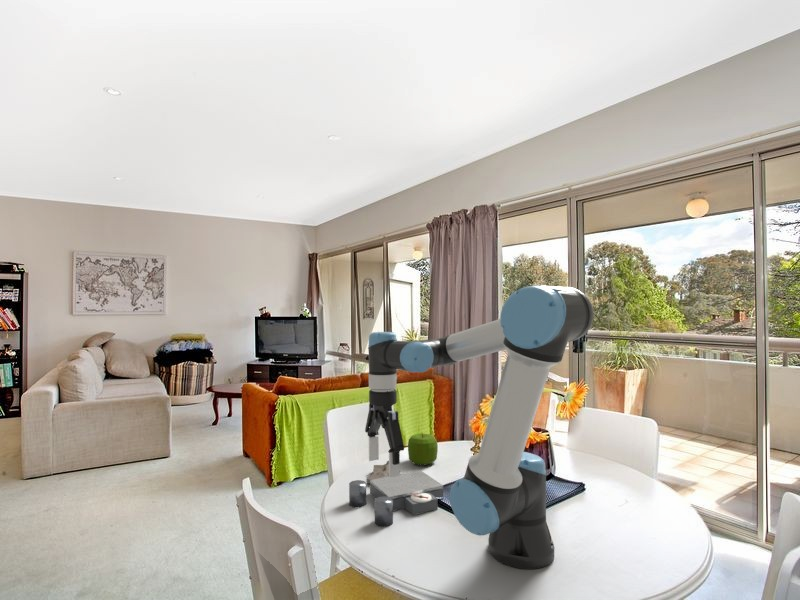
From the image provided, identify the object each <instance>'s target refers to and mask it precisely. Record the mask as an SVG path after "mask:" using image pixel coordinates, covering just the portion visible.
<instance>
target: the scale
mask: <svg viewBox="0 0 800 600" xmlns="http://www.w3.org/2000/svg"><path fill="white" fill-rule="evenodd" d="M369 494H370V495H371V496H372V497H373V499H374V500H375V499H376V498H378V497H383V496H384V495H383V494H382V493H381V492H380V491H378V490H377V489H376V488H375V487H374V486H373V485H372V484H370V483H369ZM436 497H443V498H444V488H441V489H436V490H432V491H427V492H423V493H419V494H414V495H410V496H405V497H401V498H396V499H393V512H394V511H398V510H404V509H405V510H406V511H408V512H409V513H410V514H411V515H412V516H415V515H420V514H424V513H427V512H432V511H435V510H438V507H439V505H438V501H439V500H438V499H437V498H436Z"/></svg>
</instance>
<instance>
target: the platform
mask: <svg viewBox="0 0 800 600" xmlns="http://www.w3.org/2000/svg"><path fill="white" fill-rule="evenodd" d="M370 483H371V484H372V485H373V486H374V487H375V488H376V489H377V490H378V491H380V492H381V493H382V494H383V495H384V496H386V497H390V498H392V499H396V498H401V497H405V496H410V495H414V494H419V493H423V492H427V491H432V490H436V489H441V488H442V489H444V485H443V484H442V483H441V482H439V481H438V480H436V479H434V478H433V477H431V476H430V475H428V474H427V473H425V472H424V471H423V470H414V471H409V472H405V473H404V472H403V473H400V476H395V477H384V478H379V479H373V480H370ZM370 483H369V484H370Z"/></svg>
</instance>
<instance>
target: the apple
mask: <svg viewBox="0 0 800 600" xmlns="http://www.w3.org/2000/svg"><path fill="white" fill-rule="evenodd" d="M438 448H439V447H438V441H437V439H436V437H435V436H434V435H432V434H429V433H423V432H422V433H416V434H412V435H411V436H410V437H409V438H408V442H407V451H408V452H407V453H408V459H409V461H410V462H411V463H413V464H414V465H416V466H427V465H430V464H432V463H433V462H435V461H436V460H437V459H438V453H439V451H438V450H439V449H438Z"/></svg>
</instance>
